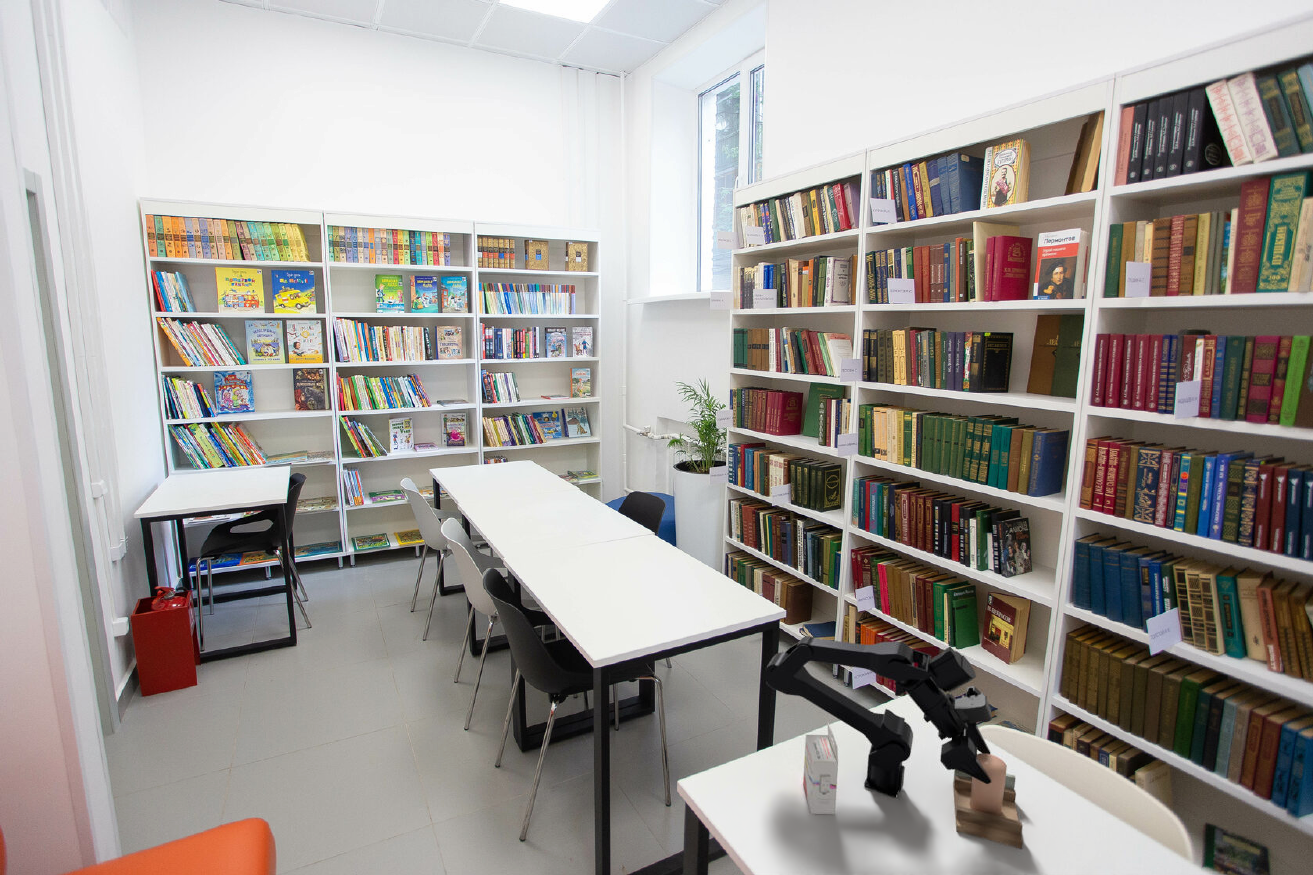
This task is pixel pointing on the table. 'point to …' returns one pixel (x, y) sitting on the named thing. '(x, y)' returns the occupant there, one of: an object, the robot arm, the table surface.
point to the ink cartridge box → (821, 772)
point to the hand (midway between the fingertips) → (989, 768)
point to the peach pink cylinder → (989, 786)
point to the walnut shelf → (984, 823)
